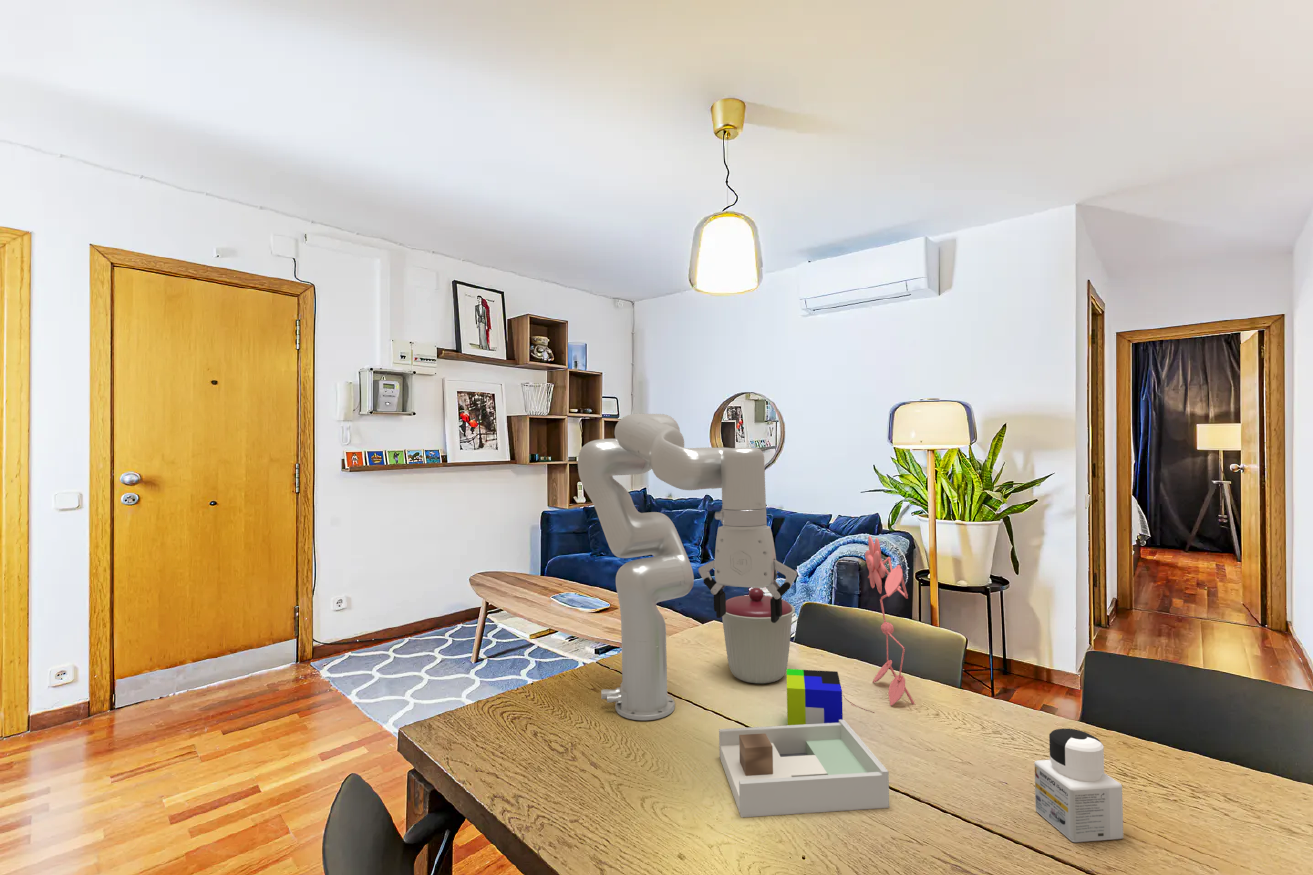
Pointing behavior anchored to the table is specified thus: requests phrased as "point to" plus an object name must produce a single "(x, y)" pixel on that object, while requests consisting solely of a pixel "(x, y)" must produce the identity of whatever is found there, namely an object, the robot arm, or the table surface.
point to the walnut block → (756, 754)
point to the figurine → (887, 628)
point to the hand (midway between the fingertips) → (747, 618)
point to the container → (1078, 789)
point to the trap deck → (806, 771)
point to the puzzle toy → (813, 697)
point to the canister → (756, 637)
